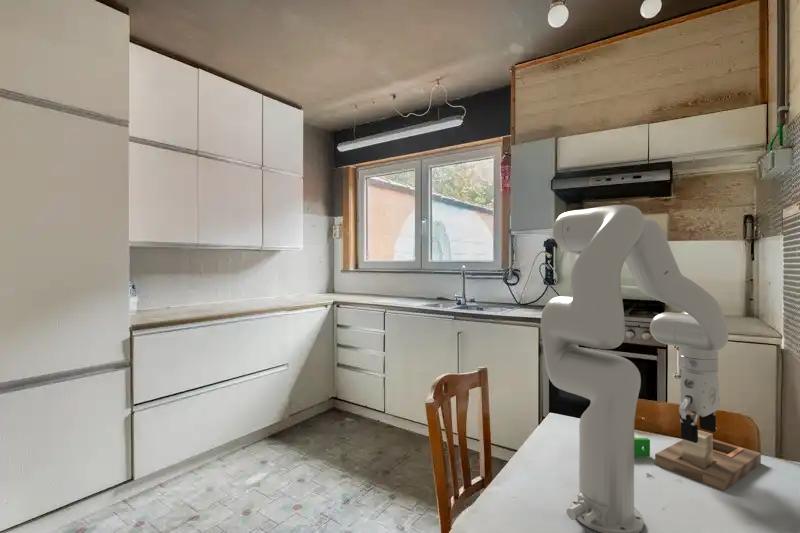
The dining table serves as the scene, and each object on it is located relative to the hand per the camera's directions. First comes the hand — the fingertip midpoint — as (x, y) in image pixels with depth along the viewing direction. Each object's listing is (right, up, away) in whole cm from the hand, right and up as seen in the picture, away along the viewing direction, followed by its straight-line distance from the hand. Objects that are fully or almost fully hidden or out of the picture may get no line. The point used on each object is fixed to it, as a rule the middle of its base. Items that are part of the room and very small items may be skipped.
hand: (698, 435), depth 98 cm
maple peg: (-1, -8, 0) cm, 8 cm away
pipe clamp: (-13, -9, +9) cm, 18 cm away
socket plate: (+4, -8, +3) cm, 10 cm away
